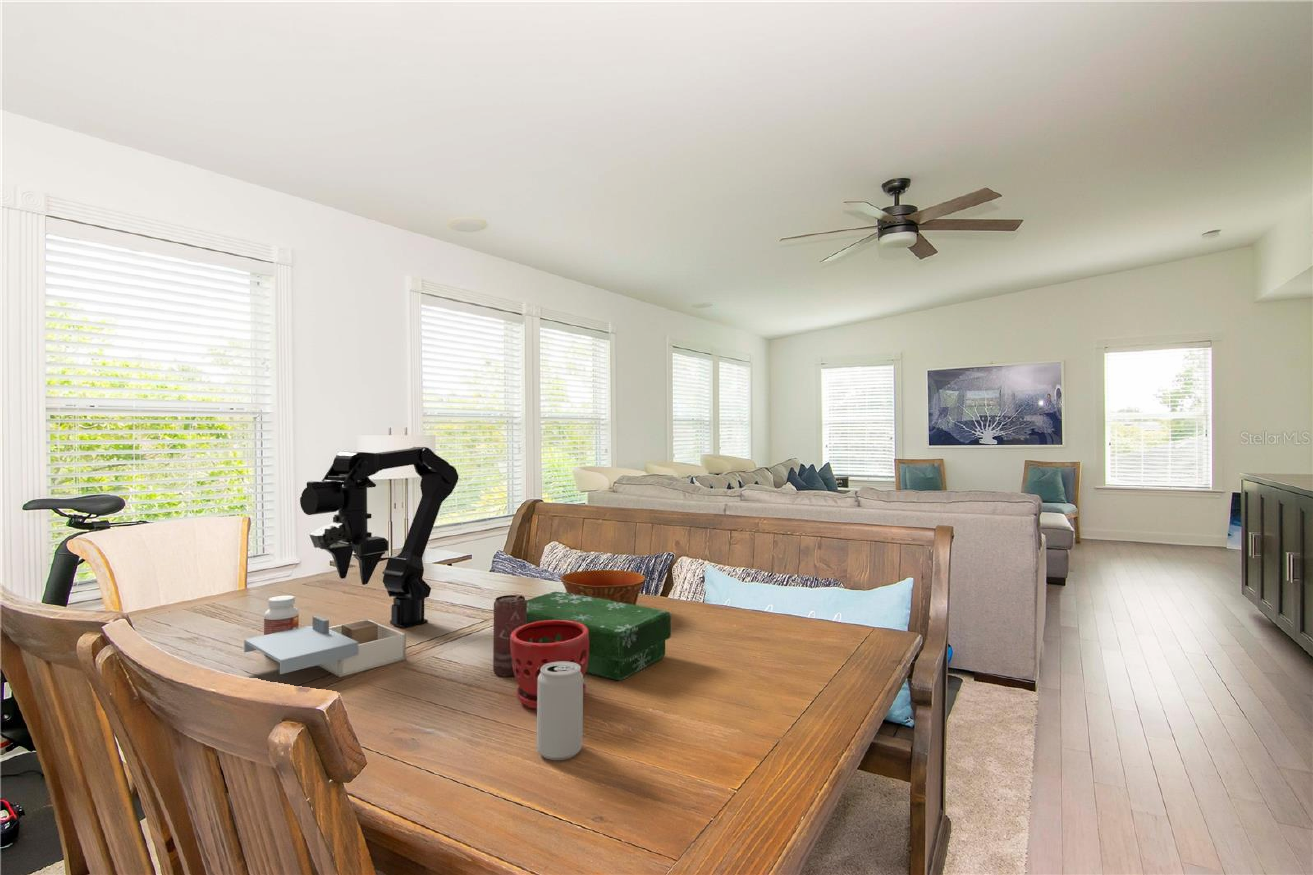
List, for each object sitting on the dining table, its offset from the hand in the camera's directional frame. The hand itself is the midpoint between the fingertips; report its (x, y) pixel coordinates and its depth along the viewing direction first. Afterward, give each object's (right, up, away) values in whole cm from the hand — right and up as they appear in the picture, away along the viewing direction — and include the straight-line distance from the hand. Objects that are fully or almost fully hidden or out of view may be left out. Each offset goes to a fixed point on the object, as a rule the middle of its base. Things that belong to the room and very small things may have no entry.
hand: (353, 581), depth 143 cm
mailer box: (+6, -13, -12) cm, 18 cm away
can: (+38, -13, -18) cm, 44 cm away
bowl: (+52, -13, +21) cm, 58 cm away
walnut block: (+6, -12, -11) cm, 18 cm away
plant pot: (+48, -13, -32) cm, 59 cm away
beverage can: (+52, -14, -50) cm, 73 cm away
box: (+51, -14, -9) cm, 53 cm away
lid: (-1, -9, -19) cm, 22 cm away
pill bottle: (-11, -13, -8) cm, 19 cm away
